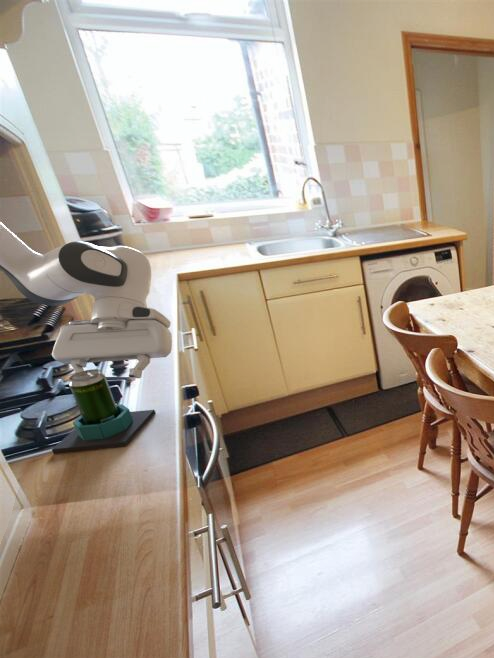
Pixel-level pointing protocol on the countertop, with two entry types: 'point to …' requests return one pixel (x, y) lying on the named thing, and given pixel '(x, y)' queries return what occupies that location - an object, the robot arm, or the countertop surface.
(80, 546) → the countertop surface
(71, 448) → the can pad
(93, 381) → the beer can
